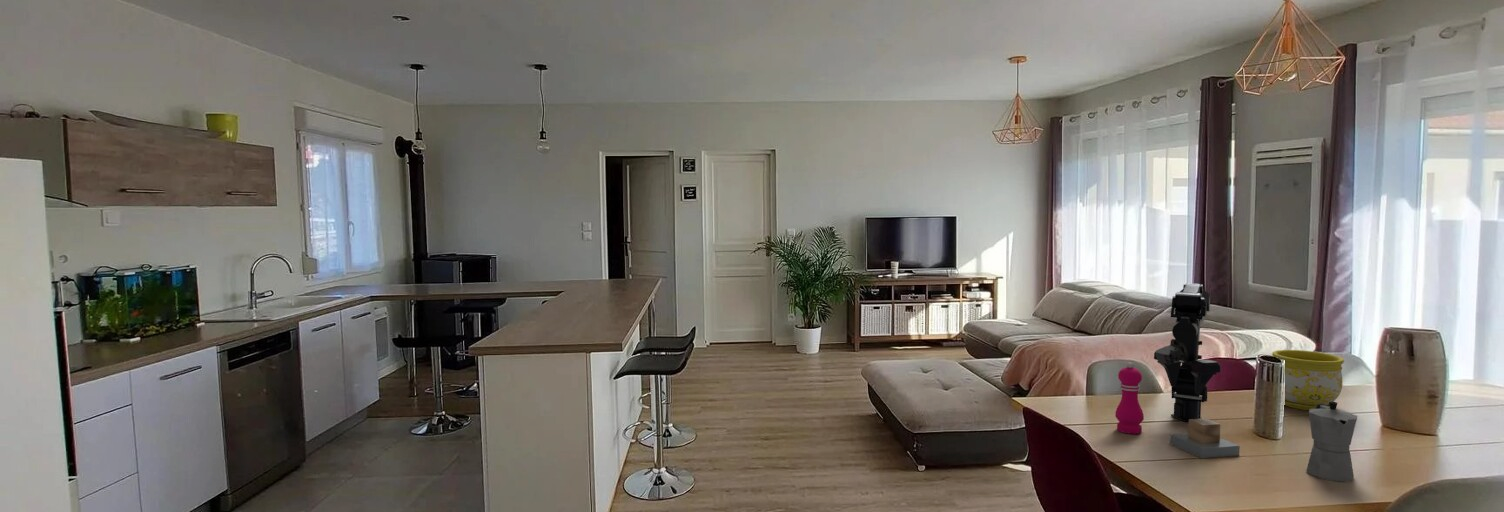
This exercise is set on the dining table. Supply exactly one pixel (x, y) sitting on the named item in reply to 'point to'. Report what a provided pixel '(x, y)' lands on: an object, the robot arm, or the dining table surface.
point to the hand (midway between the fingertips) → (1185, 390)
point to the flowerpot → (1310, 378)
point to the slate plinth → (1204, 447)
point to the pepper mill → (1129, 401)
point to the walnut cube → (1204, 431)
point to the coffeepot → (1331, 443)
